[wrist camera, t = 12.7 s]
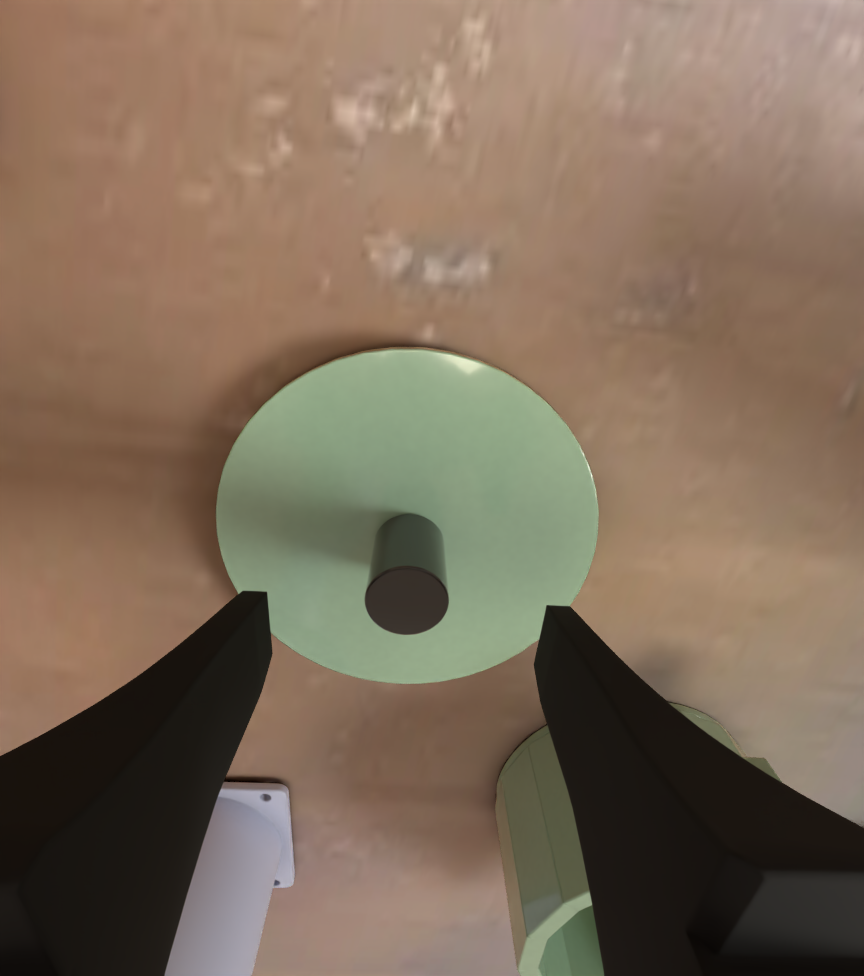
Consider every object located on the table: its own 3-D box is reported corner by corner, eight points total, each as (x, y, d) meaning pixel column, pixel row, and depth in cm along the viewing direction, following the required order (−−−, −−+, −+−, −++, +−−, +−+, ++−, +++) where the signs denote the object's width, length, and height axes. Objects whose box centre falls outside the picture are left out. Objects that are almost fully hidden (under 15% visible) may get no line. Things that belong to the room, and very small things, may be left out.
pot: (476, 885, 27) (492, 1055, 21) (523, 646, 20) (566, 803, 14) (683, 889, 28) (754, 1055, 22) (800, 658, 20) (953, 813, 15)
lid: (244, 657, 20) (200, 753, 16) (206, 328, 14) (126, 348, 10) (553, 670, 20) (585, 764, 16) (627, 359, 15) (699, 389, 11)
